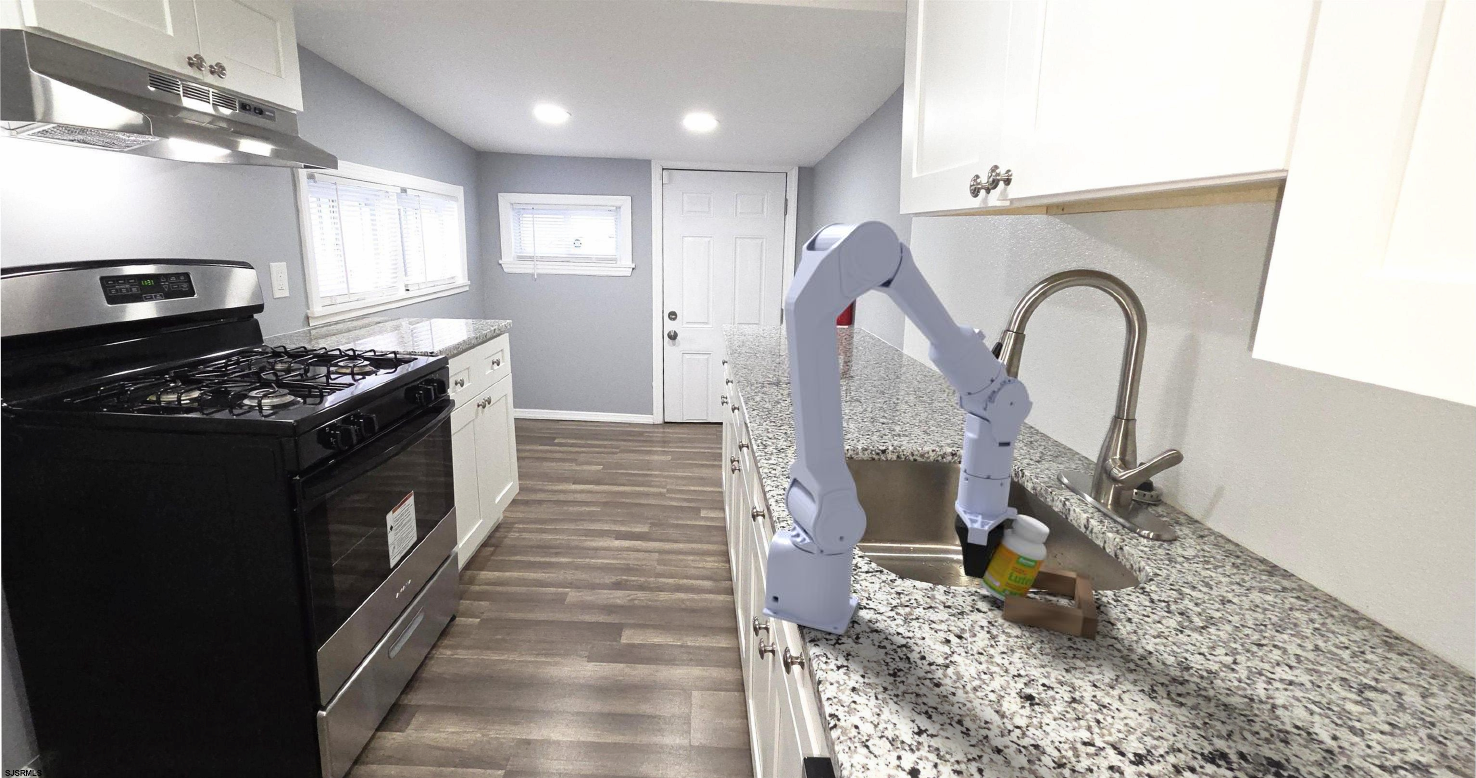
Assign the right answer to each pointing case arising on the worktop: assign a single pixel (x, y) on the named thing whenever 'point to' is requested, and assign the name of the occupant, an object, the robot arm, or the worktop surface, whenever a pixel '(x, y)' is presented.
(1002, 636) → the worktop surface
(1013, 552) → the supplement bottle
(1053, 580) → the wooden u-shaped bracket
